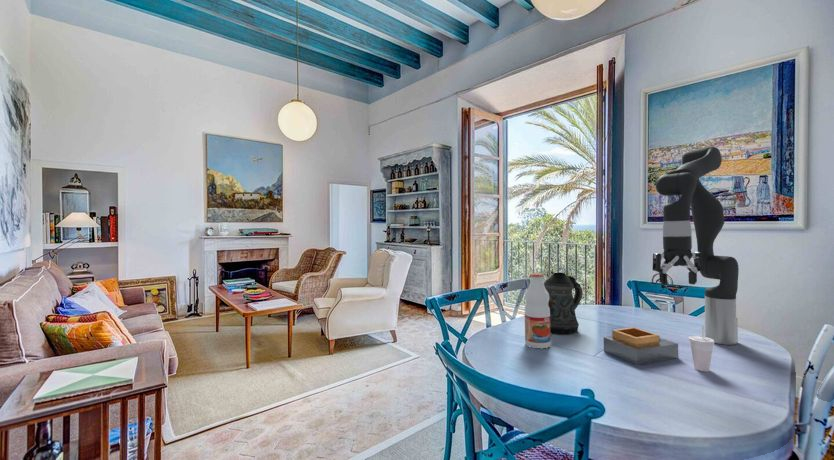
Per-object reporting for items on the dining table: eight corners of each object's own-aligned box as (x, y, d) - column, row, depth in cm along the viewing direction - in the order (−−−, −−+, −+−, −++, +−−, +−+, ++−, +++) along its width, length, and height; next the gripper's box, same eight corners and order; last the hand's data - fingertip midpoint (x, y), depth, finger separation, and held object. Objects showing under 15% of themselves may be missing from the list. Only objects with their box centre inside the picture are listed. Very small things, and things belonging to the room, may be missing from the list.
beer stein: (531, 329, 156) (530, 273, 156) (552, 320, 169) (551, 269, 169) (568, 337, 144) (567, 277, 144) (587, 327, 157) (586, 272, 157)
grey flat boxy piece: (648, 343, 135) (647, 323, 135) (684, 356, 121) (684, 334, 121) (603, 350, 129) (603, 329, 129) (637, 365, 116) (636, 340, 116)
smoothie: (719, 374, 108) (719, 328, 107) (696, 372, 109) (695, 327, 109) (707, 365, 114) (706, 322, 114) (684, 364, 115) (684, 322, 115)
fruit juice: (538, 339, 142) (537, 271, 142) (556, 347, 134) (554, 274, 133) (520, 343, 139) (518, 273, 138) (536, 351, 130) (535, 276, 130)
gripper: (692, 233, 117) (693, 281, 118) (647, 235, 119) (648, 282, 119) (708, 234, 110) (709, 286, 110) (660, 236, 111) (661, 286, 112)
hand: (678, 284), depth 115 cm, fingers open, 8 cm apart
